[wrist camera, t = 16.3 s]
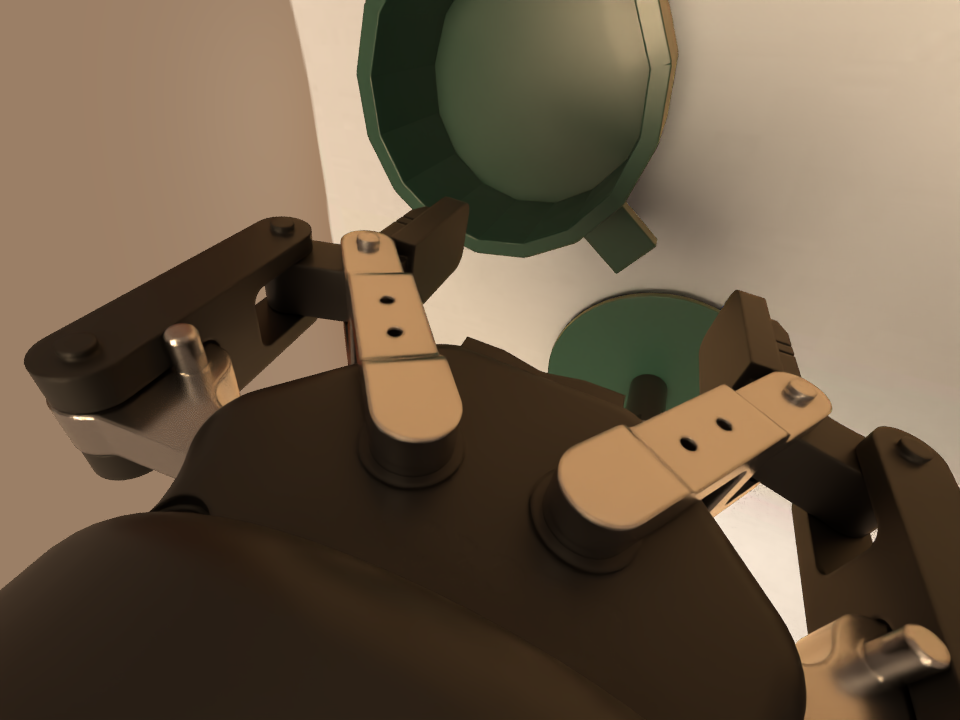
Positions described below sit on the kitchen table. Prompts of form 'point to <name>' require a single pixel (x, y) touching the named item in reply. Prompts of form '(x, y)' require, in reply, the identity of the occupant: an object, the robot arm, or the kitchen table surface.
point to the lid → (637, 349)
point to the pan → (521, 114)
